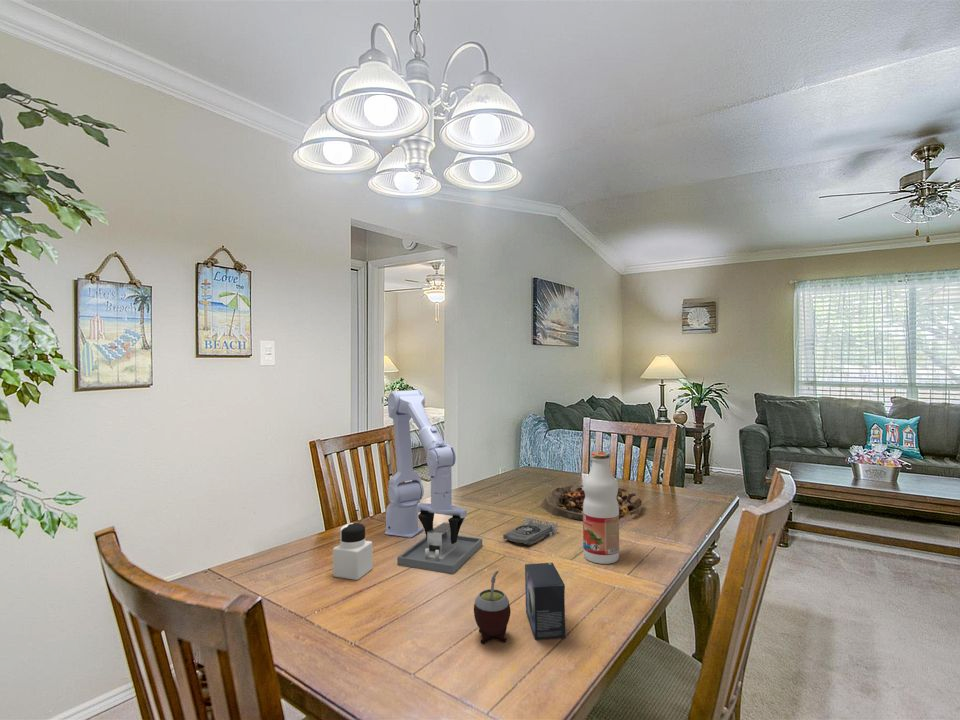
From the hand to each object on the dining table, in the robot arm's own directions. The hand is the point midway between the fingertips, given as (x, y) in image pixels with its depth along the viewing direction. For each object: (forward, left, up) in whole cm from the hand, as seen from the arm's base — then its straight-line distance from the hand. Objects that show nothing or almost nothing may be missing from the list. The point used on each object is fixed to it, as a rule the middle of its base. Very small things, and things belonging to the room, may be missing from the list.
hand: (441, 540), depth 136 cm
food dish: (+31, +57, -4) cm, 65 cm away
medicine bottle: (-16, -18, -4) cm, 24 cm away
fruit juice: (+41, +13, -4) cm, 43 cm away
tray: (0, 0, -4) cm, 4 cm away
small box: (+35, -25, -4) cm, 43 cm away
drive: (0, +1, -3) cm, 3 cm away
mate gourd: (+27, -33, -4) cm, 43 cm away
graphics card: (+18, +22, -5) cm, 28 cm away
